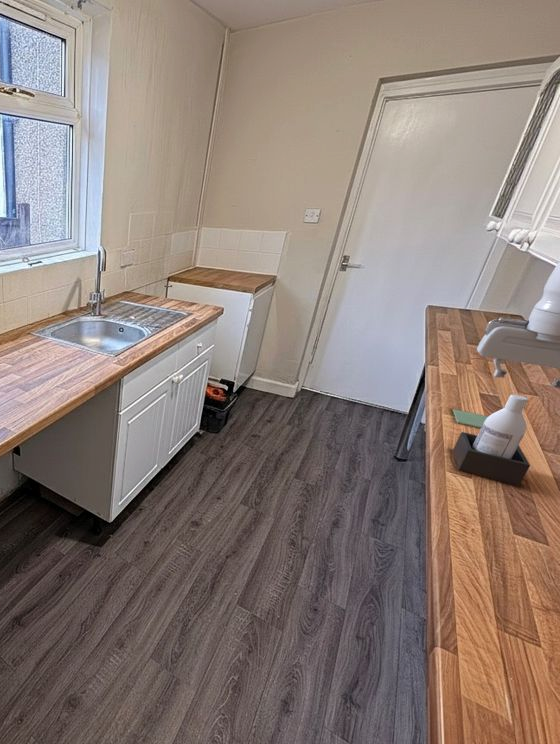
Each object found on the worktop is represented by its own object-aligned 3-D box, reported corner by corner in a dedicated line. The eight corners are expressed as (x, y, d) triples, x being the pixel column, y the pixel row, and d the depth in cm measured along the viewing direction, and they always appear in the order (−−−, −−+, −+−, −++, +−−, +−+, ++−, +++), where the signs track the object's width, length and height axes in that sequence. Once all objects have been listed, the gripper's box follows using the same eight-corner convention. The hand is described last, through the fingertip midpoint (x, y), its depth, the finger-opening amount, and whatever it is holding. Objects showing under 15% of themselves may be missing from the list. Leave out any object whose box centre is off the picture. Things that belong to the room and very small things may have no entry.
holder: (507, 464, 105) (518, 444, 103) (518, 486, 97) (530, 465, 95) (452, 450, 111) (461, 431, 109) (458, 470, 103) (468, 450, 101)
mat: (495, 419, 127) (496, 418, 126) (503, 433, 119) (504, 432, 119) (452, 410, 132) (453, 408, 132) (457, 422, 125) (457, 421, 124)
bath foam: (484, 459, 107) (520, 390, 99) (511, 476, 101) (551, 404, 93) (457, 458, 107) (490, 390, 100) (481, 475, 101) (519, 403, 93)
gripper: (494, 319, 92) (468, 375, 98) (637, 337, 81) (598, 399, 87) (488, 313, 97) (463, 367, 103) (623, 329, 86) (587, 388, 92)
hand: (526, 382), depth 95 cm, fingers open, 8 cm apart
